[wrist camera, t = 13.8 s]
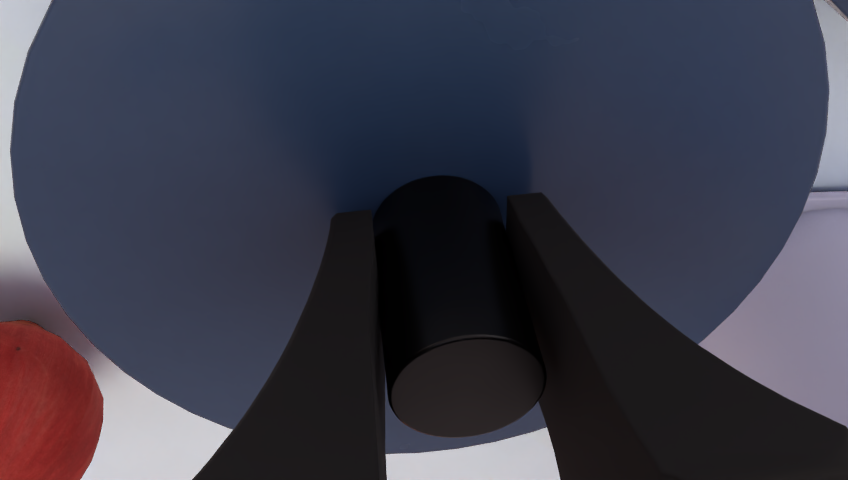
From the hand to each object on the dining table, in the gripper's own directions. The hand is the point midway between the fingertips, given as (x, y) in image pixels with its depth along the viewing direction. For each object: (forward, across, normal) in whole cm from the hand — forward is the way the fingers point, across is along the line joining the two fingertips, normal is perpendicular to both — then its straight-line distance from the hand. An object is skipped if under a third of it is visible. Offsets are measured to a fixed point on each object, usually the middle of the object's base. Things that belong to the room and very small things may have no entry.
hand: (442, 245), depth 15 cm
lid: (+1, 0, 0) cm, 1 cm away
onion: (+9, +13, +10) cm, 18 cm away
